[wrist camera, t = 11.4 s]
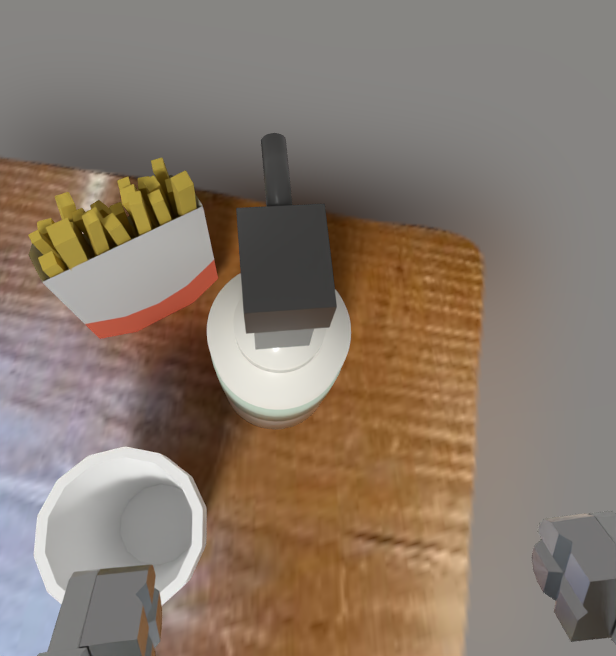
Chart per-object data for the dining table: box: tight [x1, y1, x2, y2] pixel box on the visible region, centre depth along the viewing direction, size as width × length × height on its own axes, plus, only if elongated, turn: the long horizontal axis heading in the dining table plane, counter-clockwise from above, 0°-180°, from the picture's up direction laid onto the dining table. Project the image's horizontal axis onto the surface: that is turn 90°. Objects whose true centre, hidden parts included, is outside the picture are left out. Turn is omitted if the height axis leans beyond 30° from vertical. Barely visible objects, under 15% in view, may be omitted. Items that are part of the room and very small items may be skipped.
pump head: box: [236, 133, 337, 334], centre depth 30 cm, size 4×9×9 cm, turn 6°
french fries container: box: [29, 158, 218, 339], centre depth 41 cm, size 5×11×18 cm, turn 121°
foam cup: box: [34, 447, 207, 605], centre depth 38 cm, size 10×9×13 cm
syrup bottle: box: [207, 273, 351, 429], centre depth 38 cm, size 9×9×22 cm
